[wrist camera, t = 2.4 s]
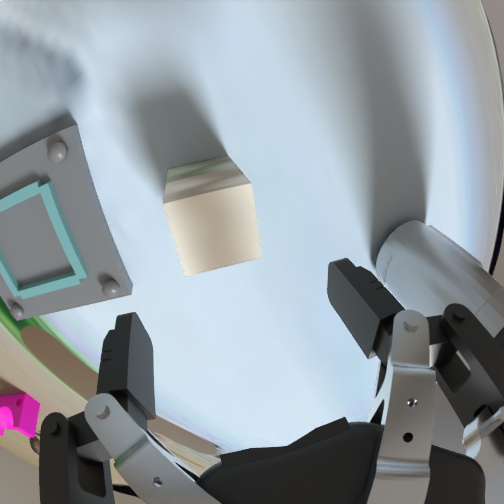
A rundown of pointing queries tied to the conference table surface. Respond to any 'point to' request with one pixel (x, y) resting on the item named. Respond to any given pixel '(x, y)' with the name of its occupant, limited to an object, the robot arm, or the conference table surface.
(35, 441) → the eagle figurine
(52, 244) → the baseplate
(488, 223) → the conference table surface
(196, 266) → the beige block
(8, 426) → the toy block
